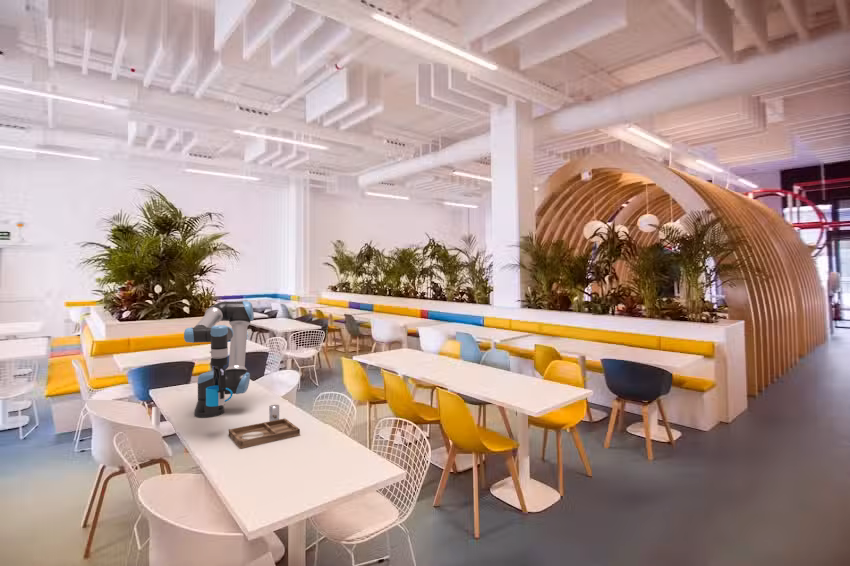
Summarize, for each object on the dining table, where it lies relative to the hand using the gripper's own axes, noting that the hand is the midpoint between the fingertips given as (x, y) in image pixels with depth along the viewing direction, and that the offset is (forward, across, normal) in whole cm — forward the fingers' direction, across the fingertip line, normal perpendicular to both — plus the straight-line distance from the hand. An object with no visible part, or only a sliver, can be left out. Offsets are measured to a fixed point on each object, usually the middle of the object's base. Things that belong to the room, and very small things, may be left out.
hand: (219, 402), depth 217 cm
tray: (+15, +16, +17) cm, 28 cm away
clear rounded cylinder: (+15, +1, +27) cm, 31 cm away
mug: (0, 0, 0) cm, 1 cm away
